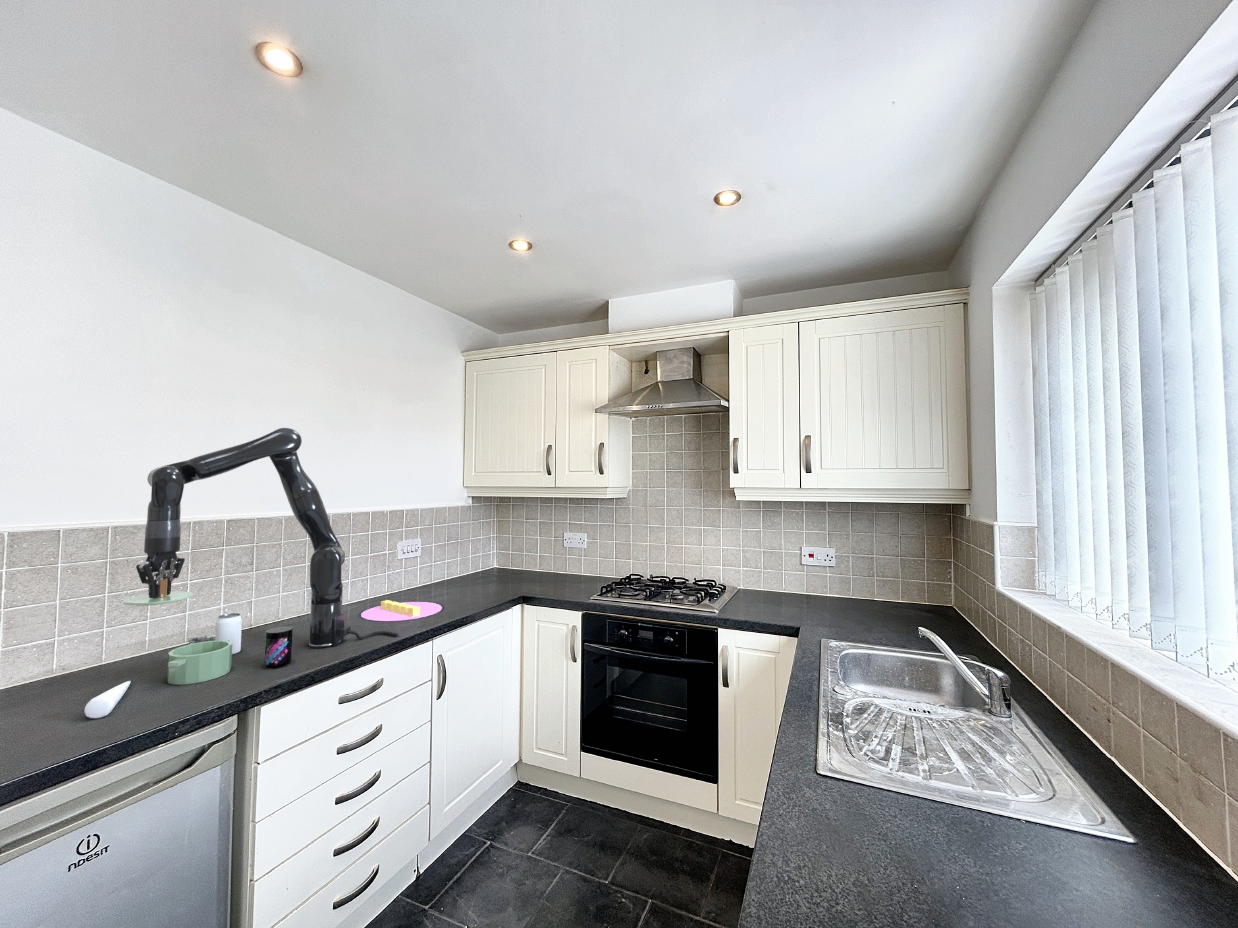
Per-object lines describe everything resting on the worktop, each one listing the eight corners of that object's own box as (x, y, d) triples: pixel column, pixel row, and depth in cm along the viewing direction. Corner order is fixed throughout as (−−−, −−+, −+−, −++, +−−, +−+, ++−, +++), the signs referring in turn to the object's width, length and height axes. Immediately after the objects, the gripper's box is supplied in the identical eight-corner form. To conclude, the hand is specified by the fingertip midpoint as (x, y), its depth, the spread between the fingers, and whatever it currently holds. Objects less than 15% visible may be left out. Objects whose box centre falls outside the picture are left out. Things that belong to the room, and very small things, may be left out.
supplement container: (258, 667, 144) (259, 631, 144) (280, 659, 150) (281, 625, 151) (275, 669, 142) (277, 633, 143) (296, 661, 149) (298, 627, 149)
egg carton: (223, 650, 158) (223, 637, 159) (193, 656, 153) (193, 643, 153) (215, 643, 165) (216, 630, 165) (186, 648, 160) (187, 636, 160)
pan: (248, 662, 148) (249, 637, 148) (198, 688, 129) (200, 659, 129) (200, 663, 147) (202, 637, 147) (144, 689, 128) (145, 660, 128)
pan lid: (206, 594, 147) (207, 574, 147) (164, 606, 132) (165, 584, 132) (154, 595, 146) (155, 574, 146) (107, 607, 131) (108, 584, 131)
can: (226, 657, 152) (227, 618, 152) (209, 655, 153) (210, 617, 154) (245, 650, 158) (247, 613, 159) (229, 649, 159) (230, 612, 160)
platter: (389, 625, 187) (390, 616, 187) (344, 613, 204) (345, 605, 204) (457, 608, 214) (458, 600, 214) (413, 598, 231) (413, 591, 231)
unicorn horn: (148, 680, 134) (149, 662, 134) (111, 717, 113) (112, 696, 113) (125, 683, 131) (125, 665, 132) (82, 721, 111) (83, 700, 111)
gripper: (155, 538, 133) (152, 602, 132) (196, 533, 147) (193, 591, 146) (126, 538, 132) (122, 602, 132) (169, 533, 146) (166, 591, 146)
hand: (159, 596), depth 139 cm, fingers closed on pan lid, 3 cm apart
